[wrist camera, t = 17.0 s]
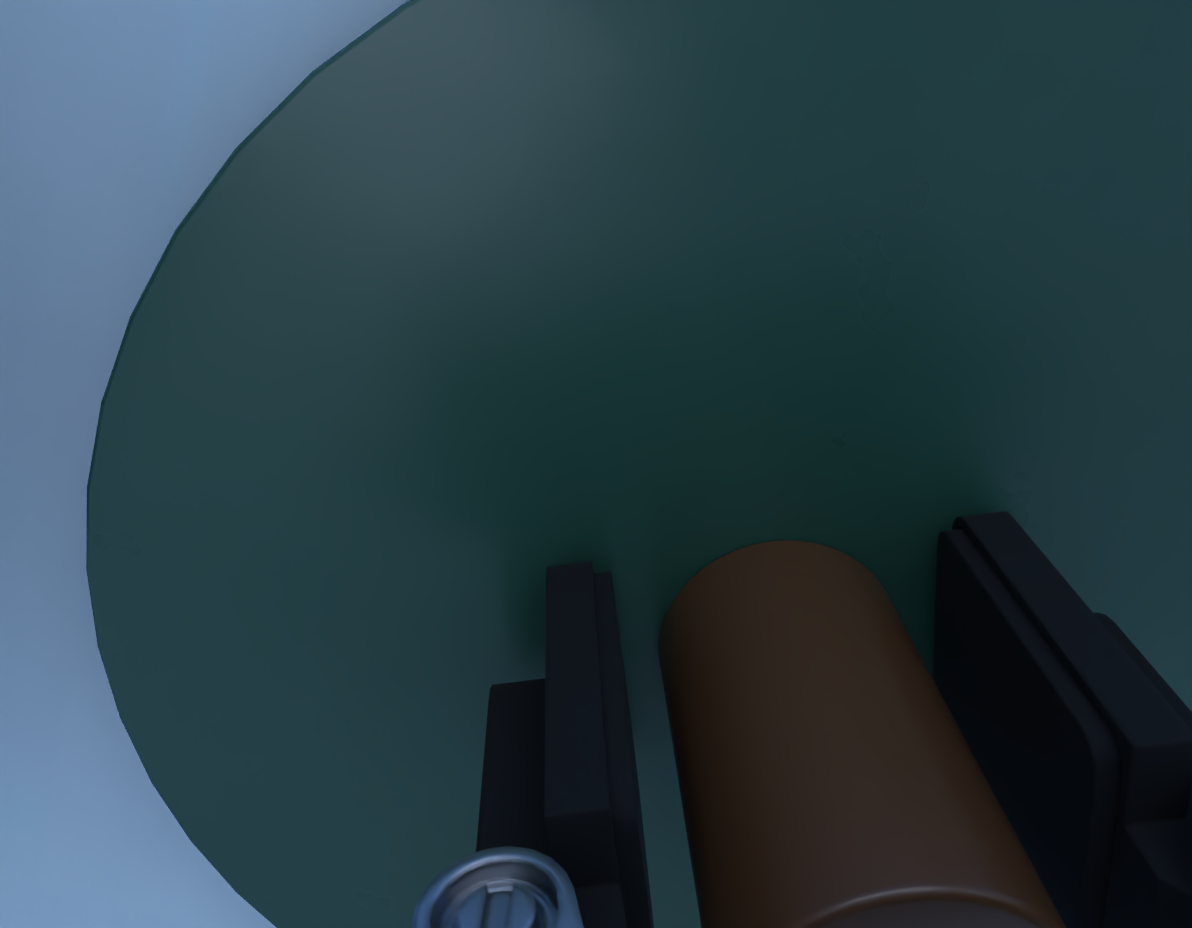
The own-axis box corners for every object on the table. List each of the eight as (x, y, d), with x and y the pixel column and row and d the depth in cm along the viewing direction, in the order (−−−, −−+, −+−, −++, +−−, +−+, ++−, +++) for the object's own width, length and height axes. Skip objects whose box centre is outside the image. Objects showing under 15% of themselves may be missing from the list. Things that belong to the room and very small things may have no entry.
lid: (1544, -216, 10) (2825, -448, 4) (1271, 941, 17) (1632, 1431, 11) (-91, -4, 10) (-880, 34, 5) (297, 1053, 17) (174, 1588, 11)
